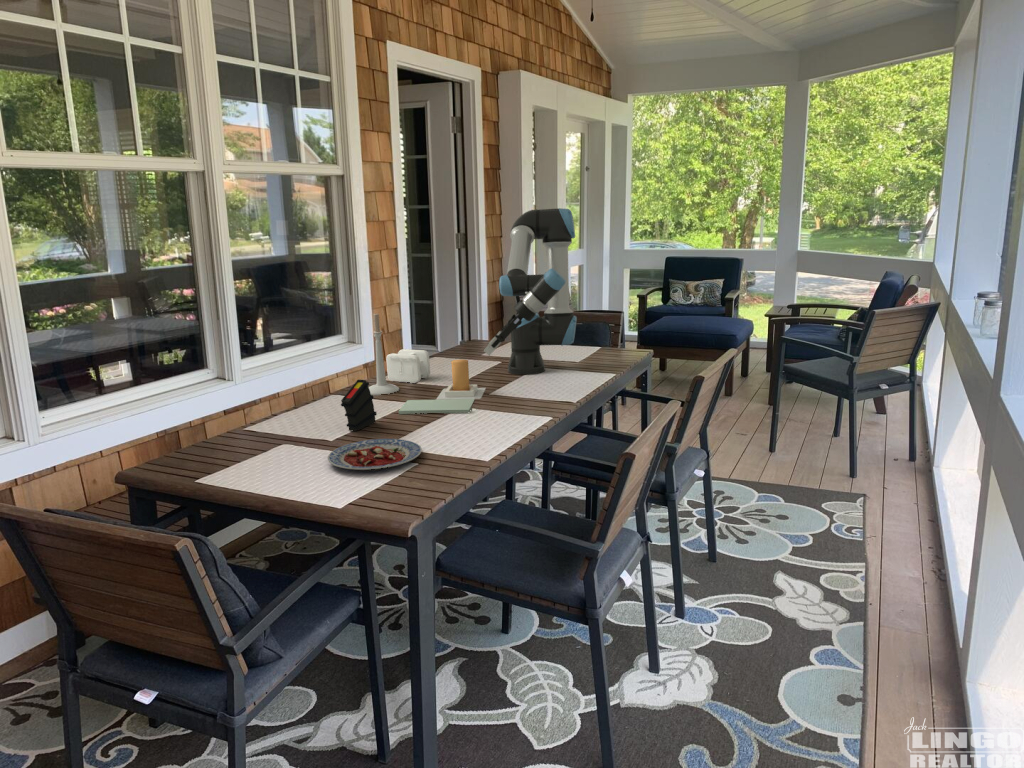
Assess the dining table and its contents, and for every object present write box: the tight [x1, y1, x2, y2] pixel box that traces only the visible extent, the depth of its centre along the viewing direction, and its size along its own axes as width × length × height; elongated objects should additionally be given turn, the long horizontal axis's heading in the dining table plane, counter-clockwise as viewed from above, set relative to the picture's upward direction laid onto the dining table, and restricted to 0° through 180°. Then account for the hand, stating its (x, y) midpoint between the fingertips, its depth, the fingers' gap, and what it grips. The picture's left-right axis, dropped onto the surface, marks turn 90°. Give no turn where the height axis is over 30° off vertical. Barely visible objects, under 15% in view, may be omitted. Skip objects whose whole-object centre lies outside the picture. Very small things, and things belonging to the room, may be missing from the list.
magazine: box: [340, 379, 377, 432], centre depth 244 cm, size 4×13×15 cm, turn 155°
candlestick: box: [368, 313, 400, 396], centre depth 288 cm, size 13×13×30 cm
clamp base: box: [435, 384, 487, 400], centre depth 279 cm, size 16×16×3 cm
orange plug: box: [451, 358, 470, 391], centre depth 278 cm, size 6×6×12 cm
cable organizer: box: [385, 348, 431, 384], centre depth 306 cm, size 15×11×12 cm
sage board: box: [398, 399, 476, 415], centre depth 264 cm, size 24×14×1 cm, turn 85°
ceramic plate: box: [327, 438, 423, 471], centre depth 213 cm, size 26×26×3 cm
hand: (488, 349), depth 274 cm, fingers open, 13 cm apart
